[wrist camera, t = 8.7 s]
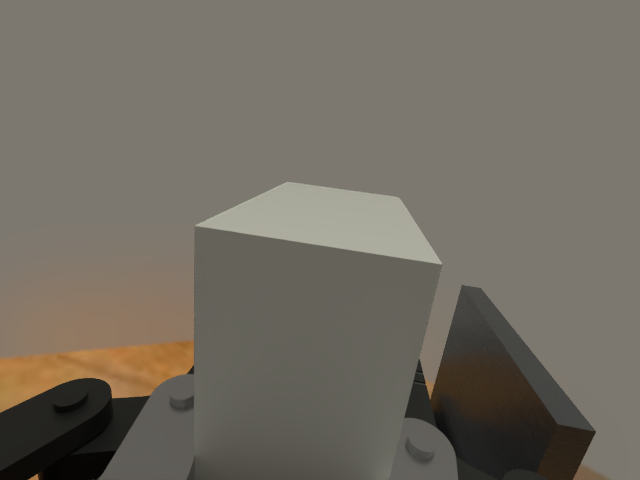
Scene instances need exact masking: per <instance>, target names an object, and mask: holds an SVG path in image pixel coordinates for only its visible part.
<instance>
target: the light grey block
mask: <svg viewBox="0 0 640 480" xmlns="http://www.w3.org/2000/svg"><path fill="white" fill-rule="evenodd" d="M194 260H195V261H194V263H195V264H194V272H195V273H194V275H195V276H194V456H195V478H194V480H389V477H390V473H391V469H392V465H393V461H394V457H395V453H396V449H397V445H398V441H399V437H400V433H401V429H402V425H403V421H404V417H405V413H406V409H407V405H408V401H409V397H410V393H411V389H412V385H413V381H414V377H415V373H416V369H417V365H418V361H419V356H420V352H421V348H422V344H423V340H424V336H425V332H426V328H427V324H428V320H429V316H430V312H431V308H432V304H433V300H434V296H435V292H436V288H437V284H438V280H439V276H440V272H441V268H442V263H441V262H440V260H439V258H438V257H437V255H436V254H435V252H434V251H433V249H432V247H431V246H430V244H429V243H428V241H427V240H426V238H425V237H424V235H423V234H422V232H421V230H420V229H419V227H418V226H417V225H416V223H415V221H414V220H413V218H412V216H411V215H410V213H409V212H408V210H407V209H406V207H405V206H404V204H403V202H402V201H401V199H400V198H399V197H394V196H386V195H379V194H372V193H365V192H357V191H350V190H343V189H335V188H329V187H322V186H314V185H307V184H300V183H293V182H286V183H284V184H282V185H280V186H278V187H275V188H273V189H271V190H269V191H267V192H265V193H263V194H261V195H258V196H257V197H254V198H252V199H250V200H248V201H246V202H244V203H242V204H240V205H237V206H235V207H233V208H231V209H229V210H227V211H225V212H223V213H220V214H219V215H216V216H214V217H212V218H210V219H208V220H206V221H204V222H202V223H199V224H197V225H195V259H194Z"/></svg>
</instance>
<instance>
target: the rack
mask: <svg viewBox="0 0 640 480" xmlns="http://www.w3.org/2000/svg"><path fill="white" fill-rule="evenodd" d="M430 403H431V407H432V411H433V414H434V418H435V422H436V426H437V429H438V430H440V431H441V432H442V433H443V434H444V435H445V436H446V437H447V439H448V440H449V441H450V443H451V445H452V446H453V449H454V451H455V455H456V456H457V457H458V458H459V459H461V460H462V461H464V462H465V463H467V464H468V465H470V466H472V467H474V468H476V469H478V470H480V471H482V472H484V473H486V474H488V475H490V476H492V477H494V478H496V479H498V480H502V479H503V477H504V475H505V474H506V473H507V472H509V471H511V470H516V469H521V470H528V471H531V472H534V473H537V474H539V475H541V476H543V477H545V478H547V479H549V480H573V478H574V476H575V474H576V472H577V470H578V468H579V466H580V464H581V462H582V459H583V457H584V455H585V453H586V451H587V449H588V447H589V445H590V443H591V441H592V439H593V437H594V435H595V433H596V431H595V430H594V429H593V427H592V426H591V425H590V424H589V422H588V421H587V420H586V419H585V417H584V416H583V415H582V414H581V413H580V411H579V410H578V409H577V407H576V406H575V405H574V404H573V402H572V401H571V400H570V399H569V397H568V396H567V395H566V394H565V393H564V391H563V390H562V389H561V388H560V386H559V385H558V384H557V383H556V381H555V380H554V379H553V378H552V376H551V375H550V374H549V373H548V371H547V370H546V369H545V368H544V366H543V365H542V364H541V363H540V361H539V360H538V359H537V358H536V356H535V355H534V354H533V353H532V351H531V350H530V349H529V348H528V346H527V345H526V344H525V343H524V342H523V340H522V339H521V338H520V337H519V335H518V334H517V333H516V332H515V330H514V329H513V328H512V327H511V325H510V324H509V323H508V322H507V320H506V319H505V318H504V317H503V315H502V314H501V313H500V312H499V310H498V309H497V308H496V307H495V305H494V304H493V303H492V302H491V300H490V299H489V298H488V297H487V296H486V294H485V293H484V292H483V290H482V289H481V288H477V287H470V286H464V285H462V287H461V291H460V295H459V298H458V302H457V306H456V309H455V312H454V316H453V320H452V324H451V327H450V330H449V334H448V338H447V341H446V345H445V348H444V352H443V356H442V359H441V363H440V367H439V370H438V374H437V378H436V381H435V385H434V388H433V392H432V395H431V399H430Z"/></svg>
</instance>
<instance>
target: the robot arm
mask: <svg viewBox="0 0 640 480" xmlns="http://www.w3.org/2000/svg"><path fill="white" fill-rule="evenodd" d="M36 474H38V478H39V480H194V478H195V456H194V365H193V367H192V368H191V369H190V371H189V372H188V373H187V374H185V375H180V376H176V377H173V378H171V379H168V380H166V381H165V382H163V383H162V384H160V385H159V386H158V387H157V388H156V389H155V390H154V391H153V393H152V394H151V395H150V396H143V397H129V398H113V399H112V394H111V388H110V386H109V384H108V383H106V382H105V381H103V380H100V379H95V378H83V379H76V380H72V381H69V382H66V383H63V384H60V385H58V386H56V387H54V388H52V389H49V390H47V391H45V392H43V393H41V394H39V395H37V396H35V397H33V398H31V399H28V400H26V401H24V402H22V403H20V404H18V405H16V406H14V407H12V408H9V409H7V410H5V411H3V412H1V413H0V480H28V479H30V478H31V477H33V476H35V475H36ZM389 480H498V479H496V478H494V477H492V476H490V475H488V474H486V473H484V472H482V471H480V470H478V469H476V468H474V467H472V466H470V465H468V464H467V463H465V462H464V461H462V460H461V459H459V458H458V457H457V456H456V455H455V451H454V449H453V446H452V445H451V443H450V441H449V440H448V439H447V437H446V436H445V435H444V434H443V433H442V432H441V431H440V430H438V429H437V426H436V422H435V418H434V414H433V411H432V407H431V403H430V399H429V395H428V391H427V387H426V385H425V379H424V375H423V371H422V367H421V363H420V359H419V361H418V365H417V369H416V373H415V377H414V381H413V385H412V389H411V393H410V397H409V401H408V405H407V409H406V413H405V417H404V421H403V425H402V429H401V433H400V437H399V441H398V445H397V449H396V453H395V457H394V461H393V465H392V469H391V473H390V477H389ZM502 480H549V479H547V478H545V477H543V476H541V475H539V474H537V473H534V472H531V471H528V470H521V469H516V470H511V471H509V472H507V473H506V474H505V475H504V477H503V479H502Z"/></svg>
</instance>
